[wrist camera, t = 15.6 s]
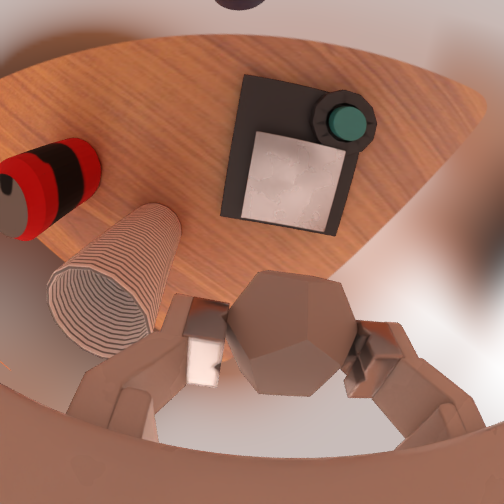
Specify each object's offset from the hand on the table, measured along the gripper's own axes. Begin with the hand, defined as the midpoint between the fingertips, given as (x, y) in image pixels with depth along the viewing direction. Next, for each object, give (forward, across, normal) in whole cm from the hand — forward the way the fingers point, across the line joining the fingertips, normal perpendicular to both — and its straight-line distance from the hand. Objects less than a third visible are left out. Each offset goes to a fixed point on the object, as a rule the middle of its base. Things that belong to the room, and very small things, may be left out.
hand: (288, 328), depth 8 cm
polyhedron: (+2, 0, 0) cm, 2 cm away
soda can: (+23, +21, +3) cm, 31 cm away
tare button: (+20, -6, -6) cm, 22 cm away
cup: (+23, +10, +8) cm, 27 cm away
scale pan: (+20, -2, 0) cm, 20 cm away
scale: (+23, -2, -2) cm, 23 cm away
